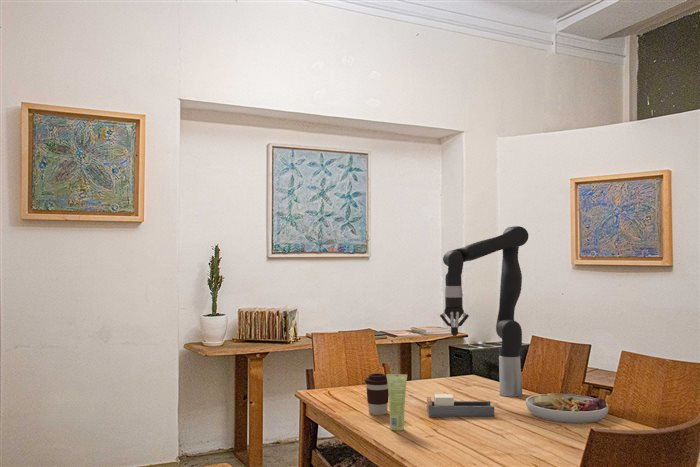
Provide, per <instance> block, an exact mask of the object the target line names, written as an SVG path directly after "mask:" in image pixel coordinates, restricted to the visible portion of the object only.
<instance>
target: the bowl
mask: <svg viewBox="0 0 700 467" xmlns="http://www.w3.org/2000/svg"><path fill="white" fill-rule="evenodd" d="M525 405H526V408H527V410H528V411H529V412H530V413H531V414H532V415H533V416H535V417H537V418H539V419H543V420H546V421H547V420H548V421H551V422H556V423H565V424H566V423H567V424H587V423H588V424H589V423H593V422H594V423H595V422H597V421H600V420H602V419H604V418H605V417H606V416H607V414H608V412H609V404H608V403H607V401H606V400H604V399H603V398H601V397H595V398H594V397H590V396H586V395H579V394H578V395H577V394H568V393H553V392H551V393H549V392H548V393H543V394H541V393H540V394H534V395H531V396H528V397H527V398H526V399H525Z"/></svg>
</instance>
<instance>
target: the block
mask: <svg viewBox="0 0 700 467" xmlns="http://www.w3.org/2000/svg"><path fill="white" fill-rule="evenodd" d="M433 395H434V396H433V401H434V406H454V401H455V399H454V398H455V397H454V395H453V394H452V393H449V394H448V393H447V394H446V393H441V394H440V393H435V394H433Z"/></svg>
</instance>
